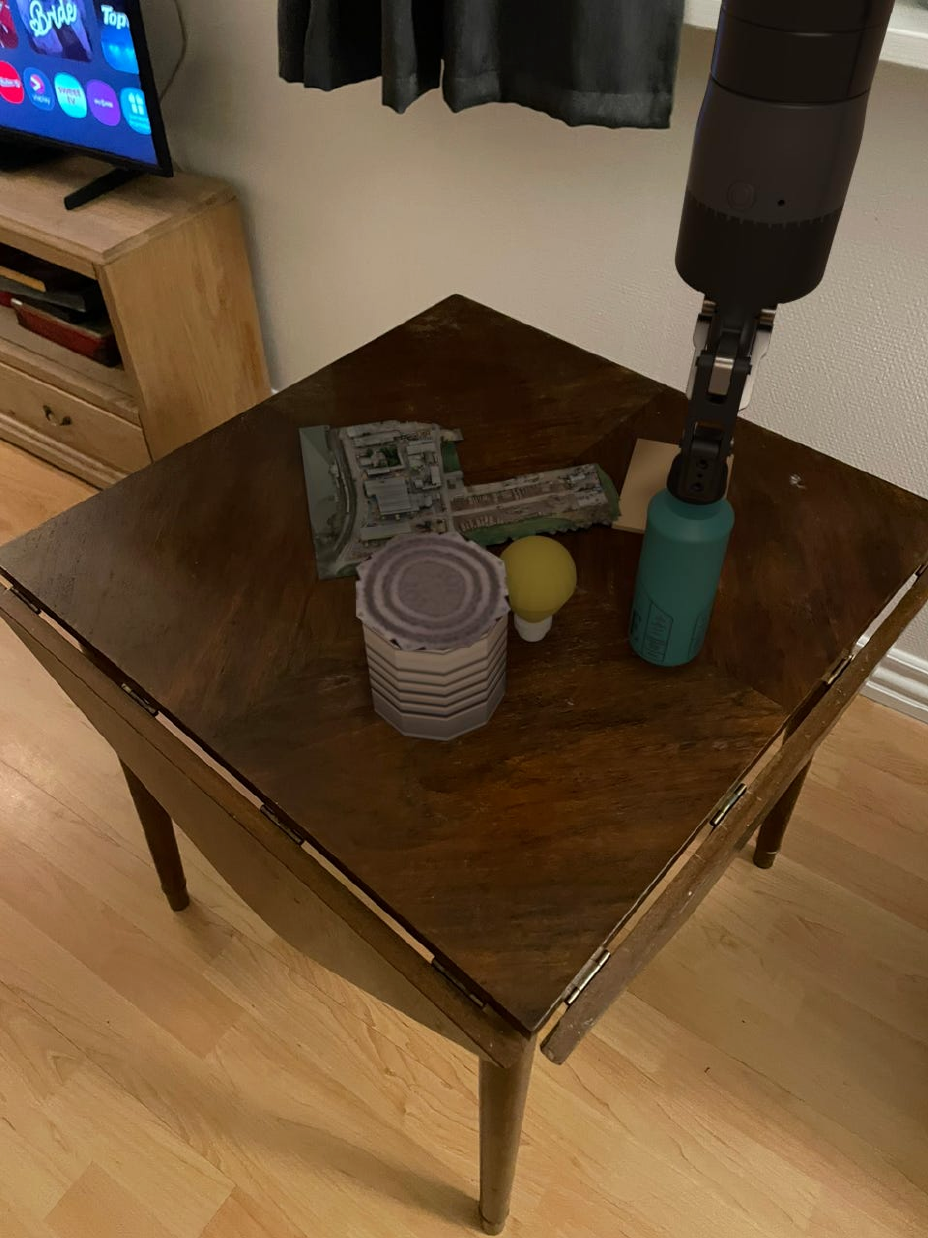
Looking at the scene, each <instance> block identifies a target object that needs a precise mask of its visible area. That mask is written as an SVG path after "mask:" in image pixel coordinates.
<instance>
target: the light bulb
mask: <svg viewBox="0 0 928 1238" xmlns="http://www.w3.org/2000/svg"><path fill="white" fill-rule="evenodd" d="M498 558H499V559H501V560H502V561H504V565H505V572H506V579H507V586H508V593H509V601H510V608H511V610H510V611H512V613H513V614H514V615H513V616H514V617H513V625H514V627H515V629H516V631H518V634H519V637H520V638H521V639H523V640H524V641H526V642H539V641H541V640H543V639H544V637H545V636H546V634H547V633H548V632H549V631H550V630H551V627H552V624H553V615H554V614H556V613H557V612H558V611H559V610H560V609H561V608H562V607H563V606H564V604H566V603H567V602H568V600H570V599H571V597H572V596H573V595H574V592H575V589H576V587H577V582H578V578H577V576H578V575H577V567H576V563H575V561H574V559H573V557H572V555H571V554H570V551H568V549H567V548H566V547H565V546H564V545H563V544H561V543H560V542H559V541H557V540H555V539H553V538H551V537H547V536H543V535H536V536H528V537H524V538H521V539H519V540H517V541H513V542H511V544H510V545H508V546H507V547H506V548H504V550H503V551H502V552H501V553H500V555H499V557H498Z"/></svg>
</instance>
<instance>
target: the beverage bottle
mask: <svg viewBox="0 0 928 1238" xmlns="http://www.w3.org/2000/svg"><path fill="white" fill-rule="evenodd" d="M683 457H684V456H683V455H680V453H679V454H677V455H676V456H675V458H674V459H673V462H672V465H671V468H670V472H669V473H668V477H667V482H666V486H667V488H664V489H662V490H661V491H659V492H658V493H656V494H655V495H654V496H653V497H652V499H651V500H650V502H649V504H648V509H647V520H646V526H645V533H644V534H643V538H642V541H641V542H640V544H642V545H641V547H640V548H639V551H640V555H639V561H638V560H636V561H637V564H636V565H637V574H636V578H635V581H634V582H633V584H634V588H633V589H632V590H633V591H632V597H631V599H630V604H629V605H630V606H629V609H628V610H629V611H628V616H627V619H629V622H628V624H627V627H626V632H627V634H626V636H627V638H628V642H629V643H630V646H631V647H632V649H633V651H634V652H635V653H636V654H637V655H638V656H639V657H640V658H642V659H643V660H644V661H647V662H649V663H651V664H654V665H657V666H663V667H676V666H681V665H684V664H687V663H688V662H691V661H692V660H693V659H694V658H695V657H696V656H698V654H699V653H700V652H701V650H703V648H704V647H705V645H706V644H705V643H706V642H705V641H706V640H705V639H707V638H708V637H707V636H708V635H707V634H708V633H709V632H708V631H709V629H710V627H711V621H712V617H713V615H714V610H715V603H716V601H715V600H717V597H718V593H717V591H719V590H720V588H719V587H720V583H721V581H720V578H722V572H723V570H722V569H723V564H724V559H725V555H726V552H727V547H728V544H729V539H730V535H731V531H732V529H733V527H734V524H735V519H736V518H735V512H734V508H733V506H732V505H731V503H730V502H729V500H727V498H726V499H725V498H724V497H723V496H724V494H725V492H726V488H727V477H728V465H727V462H726V463H724V464H723V468H722V472H721V476H720V480H719V485H718V489H717V493H716V497H715V499H714V500H712V501H709V502H706V501H701V500H695V499H690V498H685V497H682V496H680V495H679V494H678V492H677V487H678V482H679V477H680V472H681V467H682V462H683Z"/></svg>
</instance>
